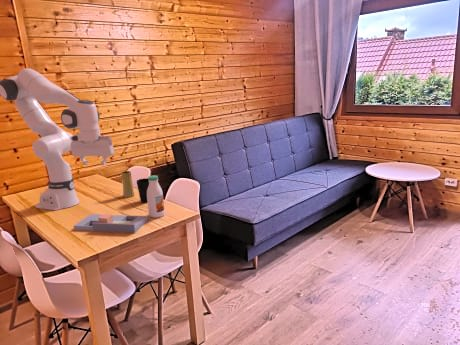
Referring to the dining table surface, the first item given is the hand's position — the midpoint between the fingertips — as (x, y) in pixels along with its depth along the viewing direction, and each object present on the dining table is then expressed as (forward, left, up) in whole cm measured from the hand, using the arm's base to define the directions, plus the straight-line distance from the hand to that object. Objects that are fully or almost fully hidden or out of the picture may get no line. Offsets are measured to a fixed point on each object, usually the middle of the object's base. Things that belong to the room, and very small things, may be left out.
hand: (94, 165), depth 169 cm
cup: (+12, +25, -27) cm, 39 cm away
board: (+9, -7, -27) cm, 29 cm away
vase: (-2, +33, -27) cm, 43 cm away
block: (+8, -10, -25) cm, 28 cm away
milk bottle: (+26, +6, -27) cm, 38 cm away
